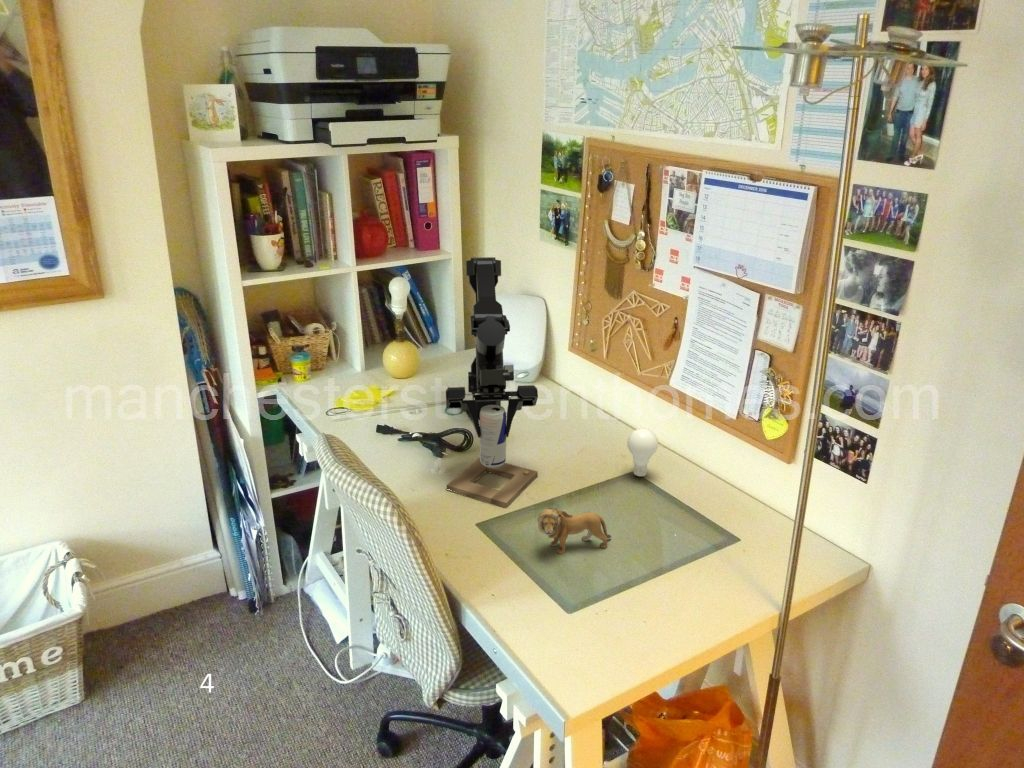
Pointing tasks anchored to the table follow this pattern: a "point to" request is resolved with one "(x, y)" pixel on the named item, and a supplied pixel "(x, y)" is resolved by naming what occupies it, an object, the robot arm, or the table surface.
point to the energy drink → (492, 436)
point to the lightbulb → (642, 449)
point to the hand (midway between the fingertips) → (493, 436)
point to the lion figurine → (571, 526)
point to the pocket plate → (497, 497)
